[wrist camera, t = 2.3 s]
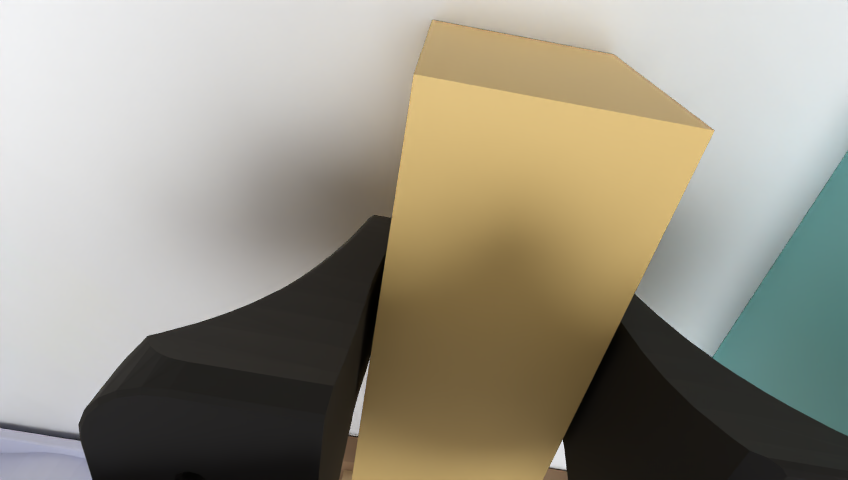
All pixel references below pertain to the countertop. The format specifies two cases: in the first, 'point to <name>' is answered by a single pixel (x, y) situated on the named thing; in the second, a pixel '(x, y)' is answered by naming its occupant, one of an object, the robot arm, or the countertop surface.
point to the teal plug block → (802, 316)
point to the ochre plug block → (512, 249)
